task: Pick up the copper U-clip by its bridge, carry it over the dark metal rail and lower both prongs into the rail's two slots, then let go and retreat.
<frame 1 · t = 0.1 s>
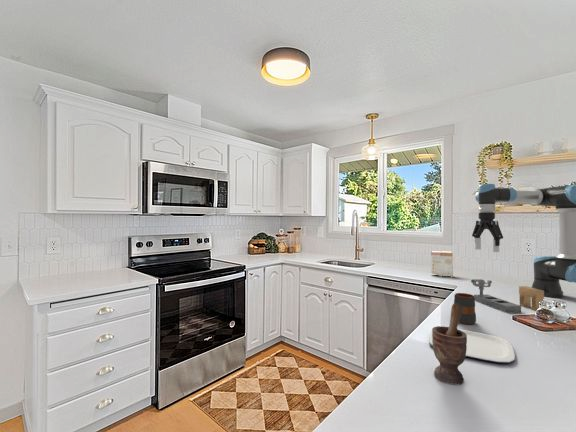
hand: (486, 250, 164), 28 cm above the countertop, fingers open, 13 cm apart
mortar and pestle: (449, 376, 86), on the countertop
mug: (464, 321, 132), on the countertop
clip: (531, 308, 152), on the countertop
coffeecake box: (441, 276, 238), on the countertop
plate: (469, 347, 106), on the countertop
mechanical component: (481, 297, 173), on the countertop
rail: (495, 305, 156), on the countertop
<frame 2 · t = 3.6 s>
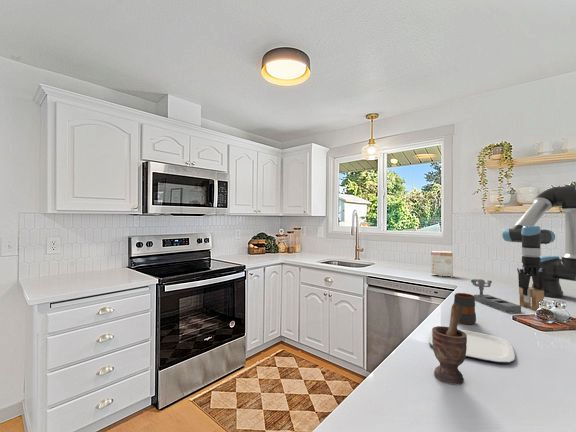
hand: (531, 301, 152), 3 cm above the countertop, fingers closed on clip, 4 cm apart
clip: (531, 308, 152), on the countertop, touching gripper
everything else where it was.
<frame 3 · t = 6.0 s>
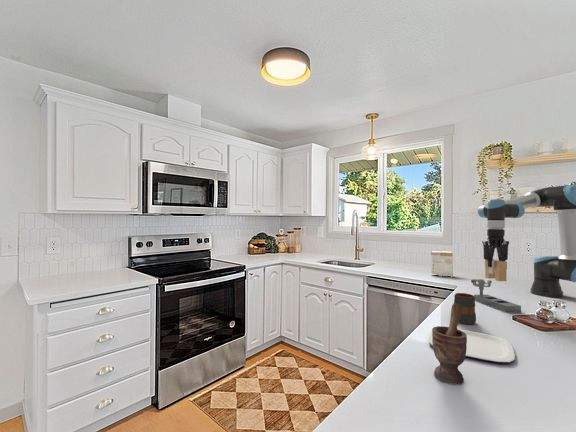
hand: (495, 273, 156), 17 cm above the countertop, fingers closed on clip, 4 cm apart
clip: (495, 279, 156), point 14 cm above the countertop, touching gripper
everything else where it was.
when the fingers open (4 cm above the countertop, at t = 8.6 s): clip drops 1 cm, resting in rail.
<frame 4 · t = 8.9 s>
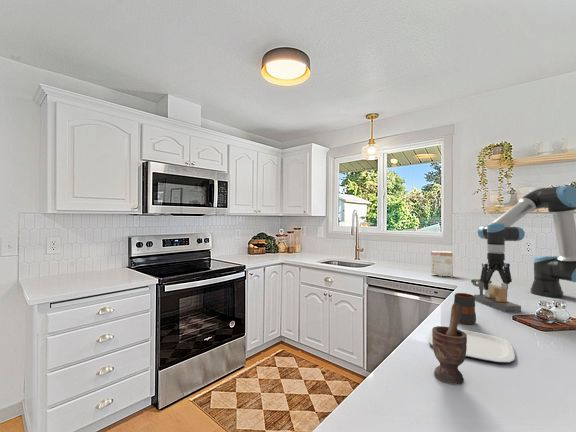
hand: (495, 295, 156), 5 cm above the countertop, fingers open, 8 cm apart
clip: (496, 305, 156), resting in rail
everything else where it was.
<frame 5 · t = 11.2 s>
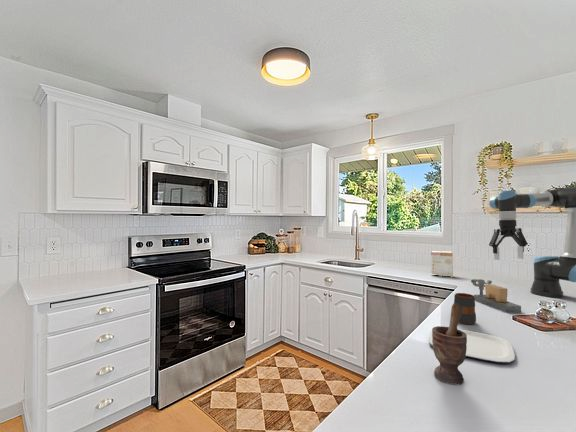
hand: (508, 259, 160), 24 cm above the countertop, fingers open, 13 cm apart
nothing on the countertop moved.
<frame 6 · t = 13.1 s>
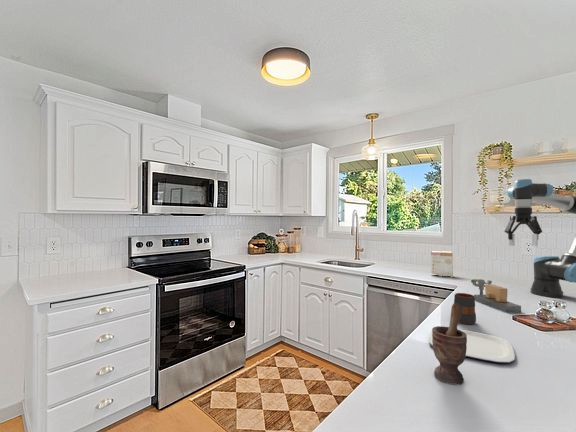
hand: (523, 245, 165), 31 cm above the countertop, fingers open, 13 cm apart
nothing on the countertop moved.
at the end: clip 0.0 cm off-centre on the rail, point 0.0 cm above the rail's base; clip tilted 0°; the gripper is holding nothing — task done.
